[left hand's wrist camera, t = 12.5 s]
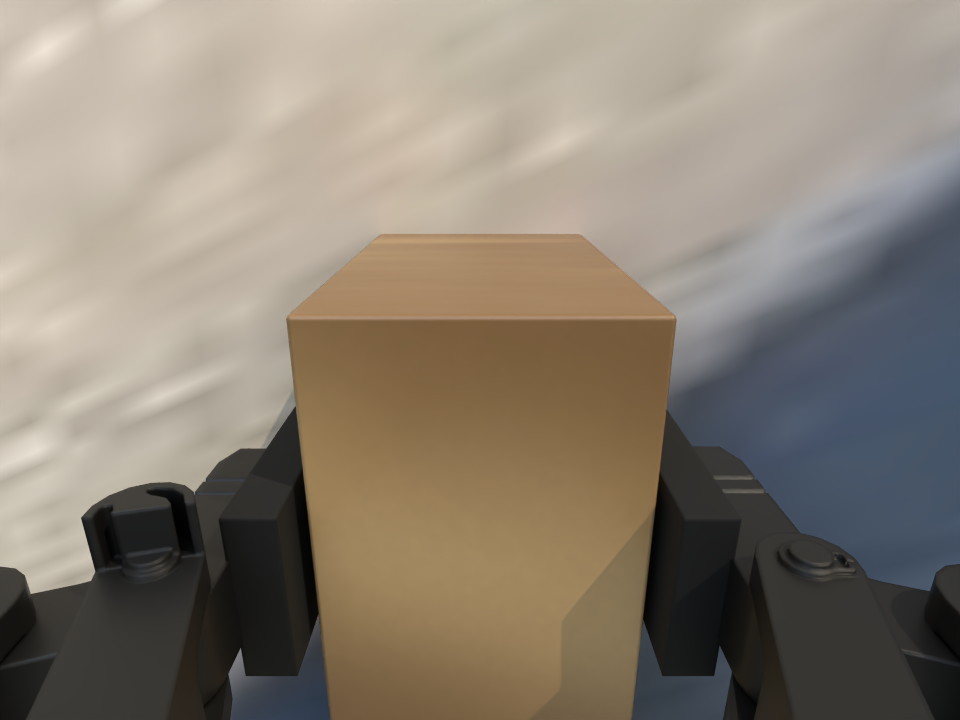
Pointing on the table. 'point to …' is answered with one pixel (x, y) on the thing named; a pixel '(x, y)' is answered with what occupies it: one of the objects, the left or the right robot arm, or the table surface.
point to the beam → (481, 475)
